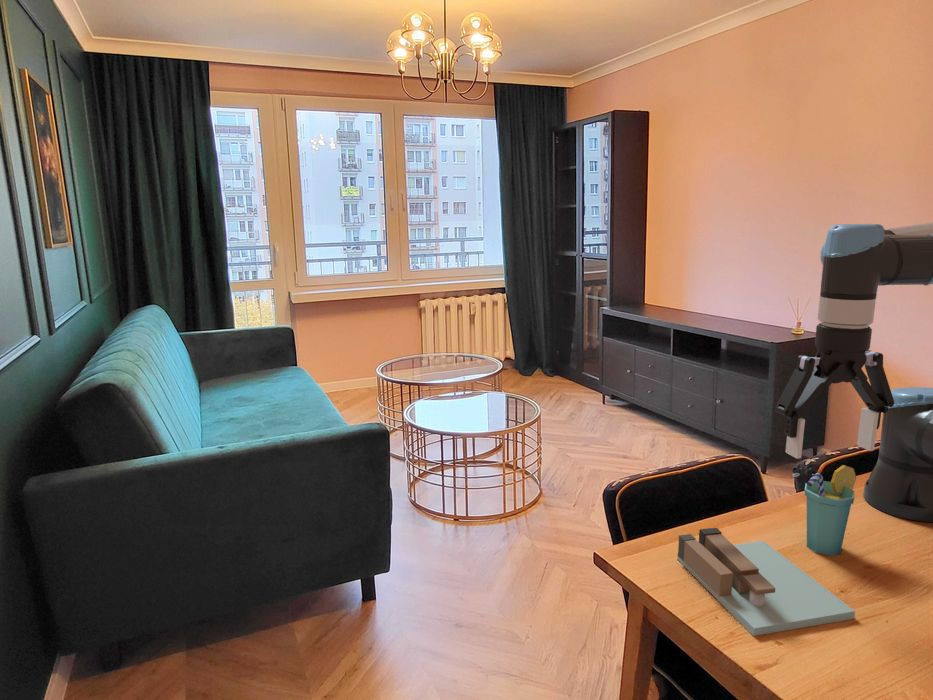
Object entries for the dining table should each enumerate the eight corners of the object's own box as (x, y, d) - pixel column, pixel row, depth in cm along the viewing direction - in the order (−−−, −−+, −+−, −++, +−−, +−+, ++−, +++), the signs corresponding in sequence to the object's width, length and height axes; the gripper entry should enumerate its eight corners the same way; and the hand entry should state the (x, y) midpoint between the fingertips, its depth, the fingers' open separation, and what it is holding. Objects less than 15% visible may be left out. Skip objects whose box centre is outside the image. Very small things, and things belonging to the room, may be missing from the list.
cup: (825, 573, 100) (835, 486, 97) (777, 553, 106) (784, 470, 103) (863, 544, 108) (873, 462, 105) (816, 527, 114) (824, 449, 111)
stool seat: (762, 547, 108) (764, 520, 107) (854, 618, 89) (858, 587, 88) (674, 559, 105) (676, 532, 104) (750, 636, 86) (753, 604, 85)
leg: (774, 607, 89) (776, 583, 89) (754, 609, 89) (756, 585, 88) (715, 548, 105) (716, 527, 104) (698, 550, 105) (699, 529, 104)
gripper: (891, 316, 104) (875, 437, 109) (757, 324, 100) (747, 450, 104) (932, 324, 97) (913, 453, 102) (790, 332, 93) (777, 467, 97)
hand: (829, 451), depth 103 cm, fingers open, 13 cm apart
